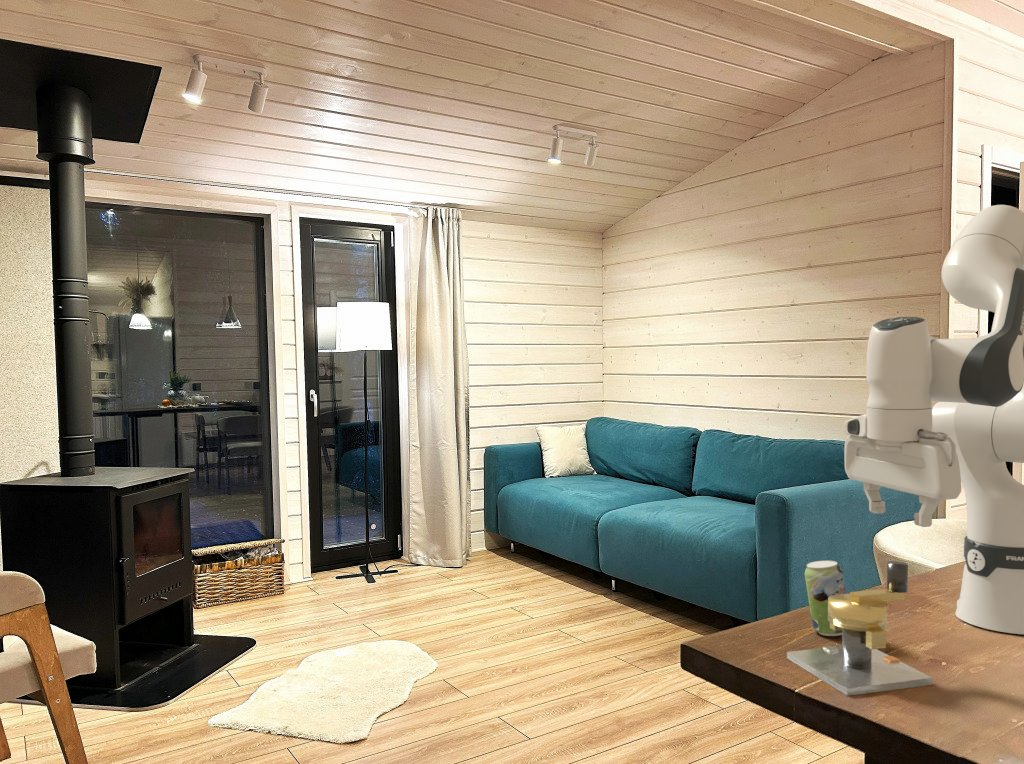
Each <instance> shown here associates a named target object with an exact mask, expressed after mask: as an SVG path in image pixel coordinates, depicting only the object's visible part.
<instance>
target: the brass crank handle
mask: <svg viewBox="0 0 1024 764" xmlns="http://www.w3.org/2000/svg"><path fill="white" fill-rule="evenodd" d="M908 579H909V564H908V563H907V562H904V561H899V560H898V561H897V560H891V561H887V562H886V588H881V589H871V590H870V589H869V590H858V591H849V593H846V594H837V595H832V596H830V597H829V598H828V621H829V622H830V628H831V629H833V630H835V631H836V630H842V628H845V629H849V630H855V631H866V647H868V648H870V649H877V650H879V649H886V648H887V630H886V629H887V627H888V603H886V602H894V601H895V602H896V601H904V600H906V599H905V597H906V593H908V589H909V588H908V587H909V586H908V585H909V584H908V583H909V580H908Z"/></svg>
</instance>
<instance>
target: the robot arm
mask: <svg viewBox="0 0 1024 764" xmlns="http://www.w3.org/2000/svg"><path fill="white" fill-rule="evenodd" d="M940 273H941V279H942V281H941V282H942V284H943V286H944V288H945V289H946V292H948V294H949V295H950V296H951V297H953V299H954V300H956V301H957V302H959V303H961V304H962V305H963V306H966V307H968V308H971V309H972V308H973V309H976V310H981V311H982V310H983V311H987V312H992V313H994V316H993V321H992V325H991V329H990V330H991V331H990V332H989V333H987V334H984V335H981V336H976V337H971V338H970V337H969V338H968V337H967V338H966V337H965V338H935V336H932V335H930V330H929V325H928V322H927V320H926V319H925V318H923V317H918V316H899V317H894V318H893V317H891V318H886V319H882V320H879V321H877V322H876V323H874V324H873V325H872V326H871V328H870V331H869V335H868V340H867V341H868V342H867V349H866V361H865V363H866V364H865V365H866V366H865V374H866V375H865V378H866V381H867V387H868V398H867V401H866V404H865V405H866V406H865V407H866V409H865V410H866V411H865V412H866V413H864V414H862V415H861V414H860V415H858V416H856V417H853V418H850V419H847V420H845V421H844V423H843V430H844V433H845V434H846V435H847V436H846V438H845V441H844V453H843V454H844V458H843V459H844V471H845V474H846V475H847V477H848V479H849V480H853V481H858V482H861V483H862V484H863V485H862V486H863V491H864V493H865V496H866V498H867V501H868V510H869V512H870V513H873V514H878V515H880V514H885V512H886V501H883V500H882V497H881V494H880V490H881V489H882V488H887V489H891V490H895V491H899V492H903V493H907V494H912V495H916V496H918V501H919V504H921V506H920V507H919V508H920V509H919V512H914V513H913V514H914V515H913V518H914V521H913V523H914V525H915V526H918V527H921V528H929V527H931V526H932V524H933V514H934V513H935V511H936V509H937V508H938V506H939V504H940V503H939V501H947V500H955V499H957V498H958V497H959V496H960V495H961V492H962V488H963V491H964V494H965V503H966V505H965V507H966V526H967V527H966V532H967V534H966V536H965V537H964V538H963V539H964V540H963V542H964V543H963V557H964V560H965V564H964V566H963V567H964V568H963V573H962V580H961V587H960V595H959V599H957V600H956V610H955V613H954V614H955V616H956V617H957V618H958V619H959V620H961V621H963V622H965V623H968V624H970V625H972V626H975V627H979V628H982V629H986V630H989V631H990V630H991V631H995V632H1002V633H1006V634H1007V633H1008V634H1014V635H1015V634H1017V635H1023V636H1024V484H1023V483H1021V482H1019V481H1017V480H1016V479H1015V478H1014V477H1013V476H1012V474H1011V473H1010V471H1009V470H1008V468H1007V463H1006V462H1009V463H1018V464H1019V463H1021V464H1024V211H1022V210H1021V209H1020V208H1018V207H1015V206H1012V205H1006V204H996V205H990V206H987V207H985V208H983V209H982V210H980V211H979V212H977V213H976V214H975V215H974V216H973V217H972V218H971V219H970V221H969V222H968V223H967V224H966V225H965V226H964V227H963V229H961V231H960V233H959V234H958V236H957V237H956V239H955V240H954V242H953V244H952V245H951V247H950V249H949V251H948V253H947V254H946V256H945V258H944V261H943V264H942V266H941V272H940ZM933 402H936V403H935V404H934V405H933ZM962 486H963V487H962Z"/></svg>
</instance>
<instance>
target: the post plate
mask: <svg viewBox="0 0 1024 764" xmlns="http://www.w3.org/2000/svg"><path fill="white" fill-rule="evenodd" d="M786 652H787V653H786V659H788V660H789V661H791V662H792V663H794V664H796V665H797V666H799V667H800V668H802V669H804V670H805V671H807V672H808V673H810V674H812V675H813V676H814V677H816V678H818V679H819V680H820V681H823V682H824V683H825V684H828V685H829V687H830V686H831V687H833V688H834V689H836V690H837V691H839V692H841V694H843V695H845V696H846V697H849V696H855V695H865V694H870V693H878V692H887V691H893V690H895V691H896V690H902V689H909V688H916V687H924V686H931V685H933V677H932V676H930V675H927V674H926V673H924V672H922V671H920V670H918V669H916V668H914V667H912V666H911V665H908V664H907V663H904V662H903V661H900V658H897V657H895V656H893V655H889V654H887V653H885V652H883V651H881V650H879V649H870V648H868V647H866V631H855V630H849V629H845V628H842V635H841V645H838V646H833V645H826V646H825V645H824V646H822V647H819V648H810V649H802V650H791V651H786Z"/></svg>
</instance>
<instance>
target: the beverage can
mask: <svg viewBox="0 0 1024 764" xmlns="http://www.w3.org/2000/svg"><path fill="white" fill-rule="evenodd" d="M844 578H845V577H844V574H843V570H842V568H841V567H840V566H839V564H838V562H837V561H835V560H830V559H829V560H816V561H810V562H807V564H806V568H805V571H804V579H805V584H806V585H805V586H806V592H807V598H808V599H807V600H808V604H809V611H810V617H811V624H812V625H811V626H812V629H813V631H815V632H817V633H818V634H819V635H821V636H826V637H837V636H842V630H836V631H835V630H833V629H831V628H830V622H829V621H828V598H829V597H830V596H832V595H837V594H847V591H846V584H845V579H844Z"/></svg>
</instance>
